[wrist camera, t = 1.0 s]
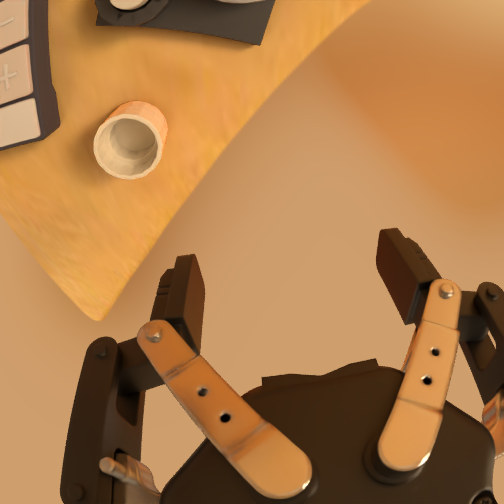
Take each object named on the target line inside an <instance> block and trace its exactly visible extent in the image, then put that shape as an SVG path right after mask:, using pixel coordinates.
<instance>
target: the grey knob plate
mask: <svg viewBox="0 0 504 504" xmlns="http://www.w3.org/2000/svg"><path fill="white" fill-rule="evenodd" d="M274 3H275V0H264V1H260V2H255V3H246V4H233V3H225V2H220V1H216V0H148V1H147V2H146V3H145V4H144V5H142V6H141V7H139V8H136V9H132V10H127V9H119V8H117V7H115V6H113V5H112V3H111V2H110V0H95V4H96V7H97V9H98V16H97V21H96V26H130V27H149V28H161V29H171V30H179V31H187V32H194V33H200V34H207V35H212V36H218V37H223V38H228V39H233V40H238V41H242V42H247V43H251V44H255V45H259V46H260V45H261V42H262V39H263V36H264V32H265V29H266V26H267V23H268V20H269V17H270V14H271V11H272V8H273V5H274Z"/></svg>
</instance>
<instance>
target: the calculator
mask: <svg viewBox="0 0 504 504" xmlns="http://www.w3.org/2000/svg"><path fill="white" fill-rule="evenodd" d="M59 126H60V118H59V112H58V105H57V98H56V92H55V90H54V88H53V85H52V80H51V70H50V58H49V42H48V0H0V151H1V150H5V149H8V148H12V147H16V146H19V145H23V144H27V143H31V142H36V141H40V140H43V139H45V138H46V137H47V136H49V135H50V134H51V133H52V132H54V131H55V130H56V129H57V128H58V127H59Z"/></svg>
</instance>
